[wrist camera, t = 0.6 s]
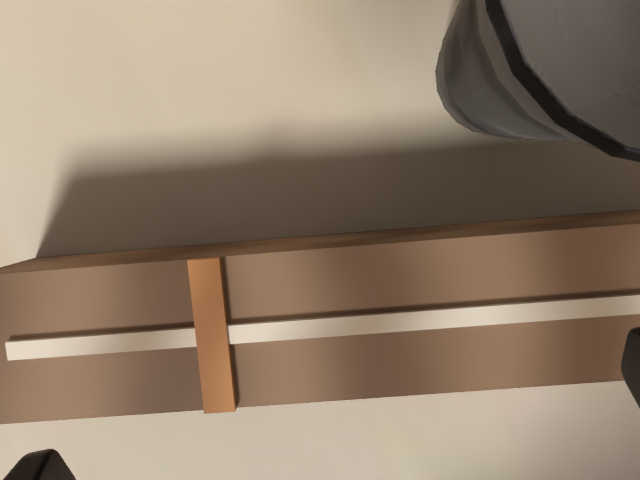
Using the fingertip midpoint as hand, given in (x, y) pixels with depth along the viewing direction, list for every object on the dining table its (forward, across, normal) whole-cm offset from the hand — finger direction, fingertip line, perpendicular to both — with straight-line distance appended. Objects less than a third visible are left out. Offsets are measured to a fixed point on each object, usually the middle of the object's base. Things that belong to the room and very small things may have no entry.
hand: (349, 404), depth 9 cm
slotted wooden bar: (+11, -2, +7) cm, 13 cm away
